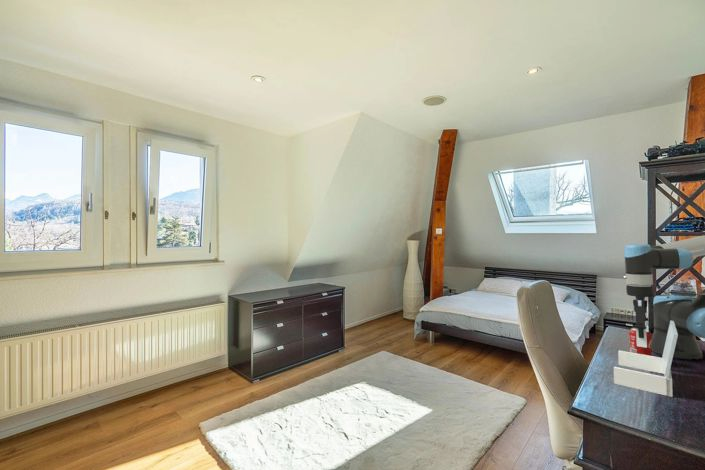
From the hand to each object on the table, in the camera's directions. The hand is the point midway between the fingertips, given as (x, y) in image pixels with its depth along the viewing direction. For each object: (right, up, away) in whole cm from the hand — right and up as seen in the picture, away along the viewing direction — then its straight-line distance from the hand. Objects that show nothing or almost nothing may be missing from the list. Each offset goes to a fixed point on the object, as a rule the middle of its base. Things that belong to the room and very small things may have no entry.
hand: (642, 342), depth 120 cm
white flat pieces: (-13, -7, -14) cm, 21 cm away
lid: (-9, +5, -18) cm, 21 cm away
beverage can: (0, -8, 0) cm, 8 cm away
